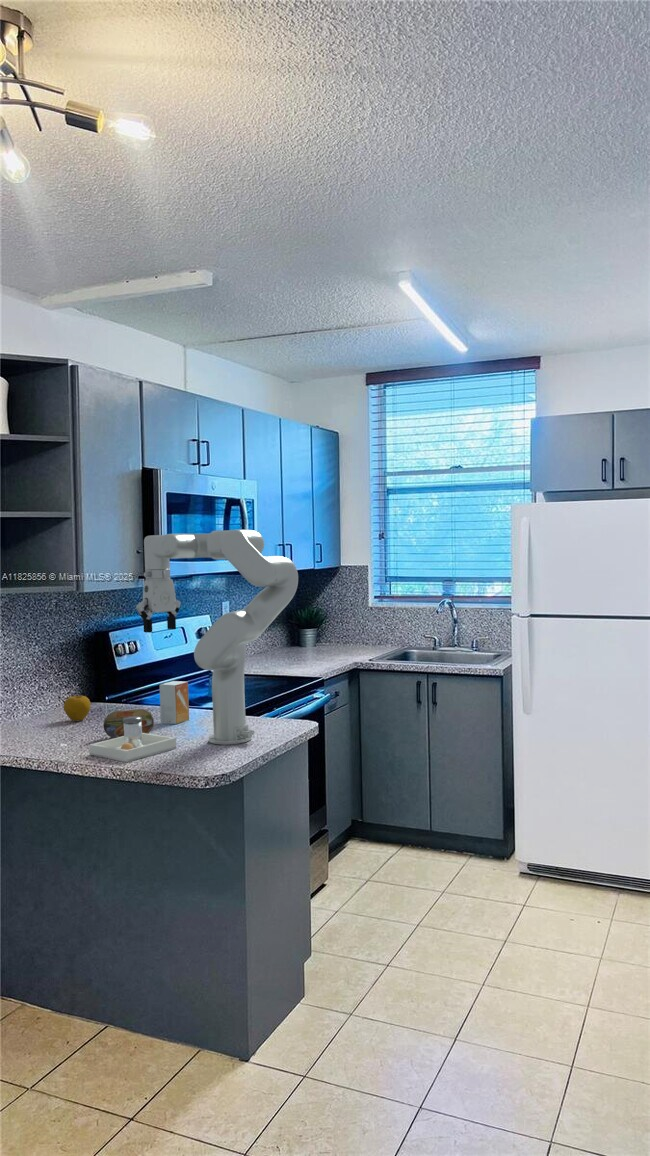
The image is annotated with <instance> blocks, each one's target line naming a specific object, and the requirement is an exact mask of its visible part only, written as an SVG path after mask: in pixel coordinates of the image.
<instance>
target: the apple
mask: <svg viewBox="0 0 650 1156" xmlns="http://www.w3.org/2000/svg"><path fill="white" fill-rule="evenodd" d="M91 706H92V703H91V701H90V699H89V697H87V696H85V695H78V694H77V695H74V696H70V697H67V698H66V699H65V701H64V704H63V710H64V712H65V714H66V716H67V717H68V718H69V720H70V721H72V722H78V721H79V720H80V721H84V719H86V717H87V716H88V714H89V713H90V711H91Z"/></svg>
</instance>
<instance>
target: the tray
mask: <svg viewBox="0 0 650 1156" xmlns="http://www.w3.org/2000/svg"><path fill="white" fill-rule="evenodd" d="M142 743H143V746H140V747H137V748H133V749H129V750H125V749H121V746H122V745H123V744H124V736H122V737H118V738H110V739H106V740H102V741H99V742H95V743H94V742H93V743H91V744H88V747H89V756H91V755H94V756H93V757H97V756H98V757H97V758H102V757H103V758H102V759H107V758H108V760H113V761H120V762H124V763H129V762H132V761H137V760H139V759H143V758H148V757H150V756H154V755H157V754H162V753H164V752H168V751H171V750H172V751H173V750H176V749H177V737H172V736H166V735H159V734H153V733H148V734H147V733H142Z"/></svg>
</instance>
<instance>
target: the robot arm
mask: <svg viewBox="0 0 650 1156" xmlns="http://www.w3.org/2000/svg"><path fill="white" fill-rule="evenodd" d="M143 546H144V547H143V548H144V549H143V550H144V551H143V552H144V572H143V577H144V578H145V580H144V581H143V586H142V587H143V588H142V600H141V601H140V602H139V603H138V604H136V606H135V608H136V610H137V613H138V615H139V616H140V619H141V620H143V621H142V622H143V624H142V625H143V633H153V620H152V616H153V614H156V613H157V614H158V613H166V614H167V616H166V625H167V627H166V628H167V629H168V630H176V629H177V623H176V621H177V620H176V617H177V616H178V613H179V611H180V607H181V605H182V602H181V601H180V600H178V599H177V598H176V597H177V596H176V589H175V584H174V581H173V580H174V579H172V578H171V564H170V559H171V560H173V559H175V560H176V559H195V558H196V559H197V558H211V559H213V560H227V561H228V562H229V563H230V564H231V566H233V567H234V568H235V570H237V572H239V574H240V575H241V576H242V577H243V578H244V579H245V580H246V581H247V582H249V584H251V585H252V586H255V587H257V588H258V587H259V588H263V589H262V590H261V591H259V592H258V593H257V594H256V595H255V596H254V597H253V599H252V600H250V602H249V603H248V604H247V605H246V606H245V607H244V608H242V609H240V610H235V611H229V612H226V613H224V614H223V615H221V616H220V617H219V618H218V619H217V620H215V622H214V623H213V624H212V626H210V628H209V629H208V630H207V631H206V632H205V633H204V635H202V636H201V638H200V639H199V640H198V642H197V643H196V645H195V647H194V651H193V657H194V658H193V659H194V661H195V663H196V665H197V666H198V667H199V668H201V669H203V670H206V671H213V672H212V677H211V678H212V679H211V692H212V693H211V695H212V719H213V720H212V723H213V734H212V735H210V736H209V737H208V742H209V743H211V744H215V745H223V746H224V745H225V746H226V745H237V744H243V743H247V742H249V741H251V740H252V738H253V736H254V735H255V730H253V729H249V724H247V723H246V702H245V701H246V699H245V697H246V696H245V665H246V658H247V647H246V643H247V644H248V643H251V642H254V641H256V640H257V639H259V637H261V635H262V634H263V633H264V632H265V631H266V629H267V628H268V627H269V626H270V625H271V624H272V622H274V620H276V618H277V617H278V616H279V615H280V614H281V613H282V611H284V609H285V608H286V607H287V606H288V605H289V603H290V602H291V600H293V598H294V597H295V594H296V592H297V589H298V586H299V585H298V584H299V573H298V569H297V567H296V565H295V563H294V562H293V561H292V560H291V559H290V558H287V557H286V556H285V557H284V556H282V555H281V556H280V555H270V556H269V555H268V556H265V555H264V556H263V554H262V553H263V551H264V548H265V540H264V537H263V536H262V535H261V534H260V532H257V531H256V530H252V529H232V530H231V529H230V530H228V529H227V530H224V529H223V530H212V531H211V532H210V533H209V532H208V533H168V534H157V535H156V534H155V535H154V534H153V535H147V536H145V537H144V539H143Z"/></svg>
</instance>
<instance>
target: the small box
mask: <svg viewBox="0 0 650 1156" xmlns="http://www.w3.org/2000/svg"><path fill="white" fill-rule="evenodd" d="M189 701H190V700H189V681H179V680H171V681H167V682H165V683H161V684H159V708H160V709H159V710H160V711H159V712H160V724H165V725H166V724H167V725H169V724H170V725H177V724H180V723H183V722H186V720H187V721H189V720H190V705H189V704H190V703H189Z"/></svg>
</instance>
